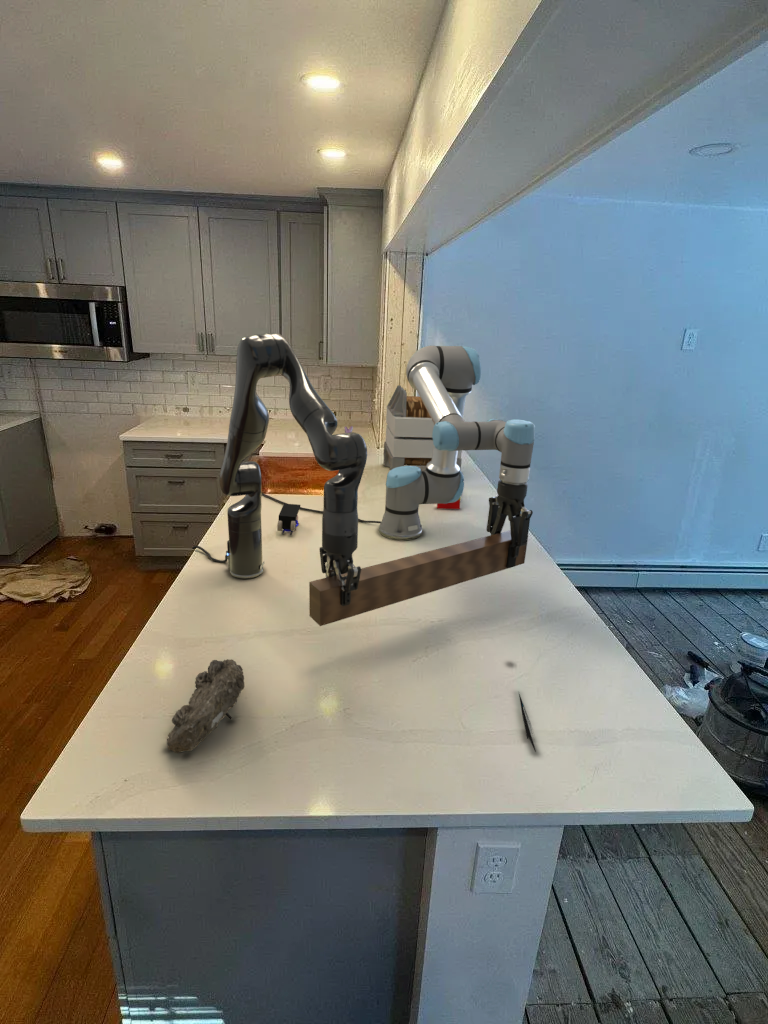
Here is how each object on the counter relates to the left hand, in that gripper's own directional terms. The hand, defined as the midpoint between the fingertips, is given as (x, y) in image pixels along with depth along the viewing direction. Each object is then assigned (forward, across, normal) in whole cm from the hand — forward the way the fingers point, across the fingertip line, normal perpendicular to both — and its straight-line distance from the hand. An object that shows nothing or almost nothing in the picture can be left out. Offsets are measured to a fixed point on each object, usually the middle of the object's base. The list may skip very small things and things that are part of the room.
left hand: (338, 598), depth 125 cm
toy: (+15, -75, +96) cm, 123 cm away
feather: (+14, +35, +23) cm, 44 cm away
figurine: (+15, -157, +99) cm, 186 cm away
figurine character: (+14, -74, +23) cm, 79 cm away
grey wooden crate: (+15, -111, +110) cm, 157 cm away
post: (+4, 0, +26) cm, 26 cm away
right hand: (+3, 0, +52) cm, 52 cm away
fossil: (+14, +6, -31) cm, 35 cm away
